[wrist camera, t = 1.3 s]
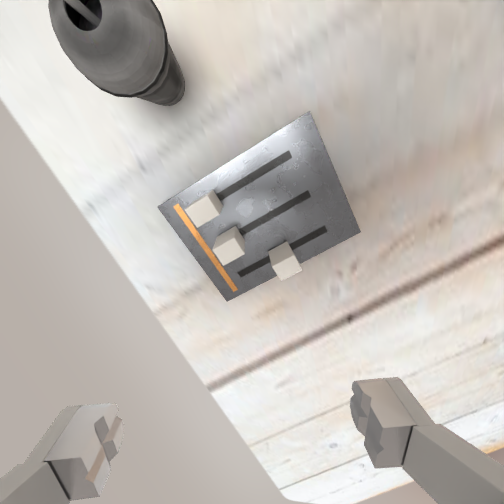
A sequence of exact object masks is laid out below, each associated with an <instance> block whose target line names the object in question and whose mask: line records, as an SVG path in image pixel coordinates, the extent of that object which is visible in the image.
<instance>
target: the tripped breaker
mask: <svg viewBox="0 0 504 504" xmlns="http://www.w3.org/2000/svg"><path fill="white" fill-rule="evenodd" d="M268 253H269V257H270V261H271V265H272V268H273V269H274V271H275V272H276V274H277V276H278V277H279V279H280V281H283V280H285V279H287V278H289V277H291V276H293V275H295V274H297V273H299V272H301V271H303V270H302V268H301V266H300V264H299V262H298V260H297V258H296V257H295V255H294V253H293V251H292V249H291V247H290V246H289V244H288V242H287V241H286V242H285V243H283V244H281V245H279V246H277V247H275V248H274V249H272V250H270V251H268Z"/></svg>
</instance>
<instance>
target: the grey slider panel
mask: <svg viewBox="0 0 504 504" xmlns="http://www.w3.org/2000/svg"><path fill="white" fill-rule="evenodd" d="M212 190H213V191H214V192H215V194H216V195H217V197H218V199H219V200H220V202H221V203H222V205H223V208H222V210H221V212H220V215H218V216H216V217H215V218H213V219H211V220H210V221H208V222H206V223H205V224H203V225H201V226H199V227H198V228H197V227H196V226H195V224H194V223H193V221H192V220H191V218H190V217H189V216H188V214H187V213H186V211H185V209H186V208H187V207H188V206H189V205H190V204H191V203H192V202H194V201H195V200H197V199H199V198H200V197H202V196H203V195H205V194H207V193H208V192H210V191H212ZM158 208H159V210H160V211H161V212H162V214H163V215H164V216H165V218H166V219H167V221H168V222H169V223H170V225H171V226H172V227H173V229H174V230H175V231H176V233H177V234H178V236H179V237H180V238H181V240H182V241H183V242H184V244H185V245H186V246H187V248H188V249H189V251H190V252H191V253H192V255H193V256H194V257H195V259H196V260H197V261H198V263H199V264H200V266H201V267H202V268H203V270H204V271H205V272H206V274H207V275H208V276H209V278H210V279H211V280H212V282H213V283H214V285H215V286H216V287H217V289H218V290H219V291H220V293H221V294H222V295H223V297H224V298H225V300H226V301H229V300H231V299H233V298H235V297H237V296H239V295H241V294H243V293H245V292H247V291H248V290H250V289H252V288H254V287H256V286H258V285H260V284H262V283H264V282H266V281H268V280H270V279H272V278H273V277H275V276H277V274H276V272H275V271H274V269H273V268H272V265H271V261H270V257H269V253H268V251H270V250H272V249H274V248H275V247H277V246H279V245H281V244H283V243H285V242H286V241H287V242H288V244H289V246H290V247H291V249H292V251H293V253H294V255H295V257H296V258H297V260H298V262H299V264H300V263H302V262H304V261H306V260H308V259H310V258H312V257H314V256H316V255H318V254H320V253H322V252H324V251H325V250H327V249H329V248H331V247H333V246H335V245H337V244H339V243H341V242H343V241H345V240H347V239H349V238H351V237H352V236H354V235H356V234H358V233H360V232H361V231H360V229H359V227H358V224H357V222H356V220H355V217H354V215H353V212H352V210H351V208H350V205H349V203H348V201H347V198H346V196H345V193H344V191H343V189H342V186H341V184H340V182H339V179H338V177H337V174H336V172H335V170H334V167H333V165H332V163H331V160H330V158H329V155H328V153H327V151H326V148H325V146H324V144H323V141H322V139H321V136H320V134H319V132H318V129H317V127H316V125H315V122H314V120H313V117H312V115H311V113H310V111H309V112H307V113H306V114H304V115H302V116H301V117H299V118H298V119H296V120H294V121H293V122H291V123H290V124H288V125H286V126H285V127H283V128H282V129H280V130H279V131H277V132H275V133H274V134H272V135H271V136H269V137H267V138H266V139H264V140H263V141H261V142H259V143H258V144H256V145H255V146H253V147H252V148H250V149H248V150H247V151H245V152H244V153H242V154H240V155H239V156H237V157H236V158H234V159H232V160H231V161H229V162H228V163H226V164H225V165H223V166H221V167H220V168H218V169H217V170H215V171H213V172H212V173H210V174H209V175H207V176H205V177H204V178H202V179H201V180H199V181H198V182H196V183H194V184H193V185H191V186H190V187H188V188H186V189H185V190H183V191H182V192H180V193H178V194H177V195H175V196H174V197H172V198H171V199H169V200H167V201H166V202H164V203H163V204H161V205H159V206H158ZM234 226H236V227H237V229H238V230H239V232H240V234H241V235H242V237H243V238H244V240H245V254H244V255H242V256H240V257H239V258H237V259H235V260H233V261H231V262H230V263H228V264H226V265H224V266H223V265H222V263H221V262H220V260H219V259H218V257H217V256H216V254H215V253H214V252H213V250H212V249H213V246H214V244H215V241H216V238H217V236H219V235H221V234H222V233H224V232H226V231H227V230H229V229H231V228H233V227H234Z"/></svg>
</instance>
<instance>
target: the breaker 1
mask: <svg viewBox="0 0 504 504" xmlns="http://www.w3.org/2000/svg"><path fill="white" fill-rule="evenodd" d="M222 208H223V205H222V203H221V202H220V200H219V199H218V197H217V195H216V194H215V192H214V191H213V190H212V191H210V192H208V193H207V194H205V195H203V196H202V197H200V198H199V199H197V200H195V201H194V202H192V203H191V204H190V205H189V206H188V207H187V208H186V209H185V211H186V213H187V214H188V216H189V217H190V218H191V220H192V221H193V223H194V224H195V226H196V227H197V228H198V227H199V226H201V225H203V224H205V223H206V222H208V221H210V220H211V219H213V218H215V217H216V216H218V215H220V212H221V210H222Z"/></svg>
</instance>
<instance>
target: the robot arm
mask: <svg viewBox="0 0 504 504" xmlns="http://www.w3.org/2000/svg"><path fill="white" fill-rule="evenodd" d="M352 390H353V392H354V395H353V396H352V397H351V400H350V408H351V414H352V418H353V421H354V423H355V425H356V428H357V430H358V431H359V432H361V433H362V434H363V435H364V436H365V441H364V446H365V448H366V450H367V452H368V454H369V456H370V459H371V461H372V463H373V465H374V467H375V468H388V467H403V469H404V470H405V471H406V472H407V473H408V474H409V475H410V476H411V477H412V478H413V479H414V480H415V481H416V482H417V483H418V484H419V485H420V486H421V487H422V488H423V489H424V490H425V491H426V492H427V493H428V494H429V495H430V496H431V497H432V498H433V499H434V500H435V501H436V502H437V503H438V504H504V466H503V465H502V464H500V463H499V462H497V461H496V460H494V459H493V458H491V457H490V456H488V455H487V454H485V453H484V452H482V451H481V450H479V449H478V448H476V447H475V446H473V445H472V444H470V443H468V442H467V441H465V440H464V439H462V438H461V437H459V436H458V435H456V434H455V433H453V432H452V431H450V430H449V429H447V428H446V427H444V426H443V425H441V424H435V423H434V422H433V420H432V419H431V418H430V417H429V415H428V414H427V413H426V411H425V410H424V409H423V407H422V406H421V405H420V404H419V402H418V401H417V400H416V398H415V397H414V396H413V394H412V393H411V392H410V391H409V389H408V388H407V387H406V385H405V384H404V383H403V381H402V380H401V379H399V378H398V377H393V378H383V379H382V378H378V379H369V380H359V381H354V382H353V384H352ZM118 411H119V409H118V407H117V405H116V403H110V404H95V405H79V406H67V407H66V408H65V409H63V410H62V411H61V412H60V414H59V415H58V416H57V418H56V419H55V421H54V422H53V423H52V425H51V426H50V428H49V429H48V430H47V432H46V433H45V435H44V436H43V437H42V439H41V440H40V441H39V443H38V444H37V445H36V447H35V448H34V450H33V451H32V452H31V454H30V455H29V457H28V458H27V459H26V461H25V462H24V464H20V465H17V466H16V467H14V468H13V469H12V470H11V471H9V472H8V473H7V474H6V475H4V476H3V477H2V478H0V504H69V503H70V501H71V500H78V499H85V498H93V497H99V496H100V494H101V492H102V490H103V487H104V485H105V483H106V480H107V478H108V476H109V473H110V471H111V467H110V460H111V459H112V458H113V457H114V456H115V455H116V454H117V453H118V451H119V449H120V446H121V444H122V439H123V434H124V424H123V421H122V419H121V418H119V417H118V416H116V415H117V413H118Z"/></svg>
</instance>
